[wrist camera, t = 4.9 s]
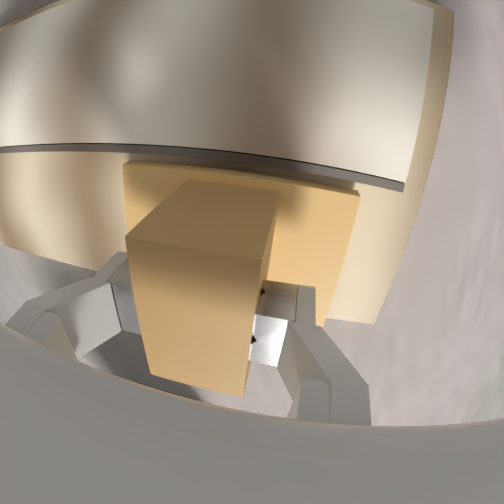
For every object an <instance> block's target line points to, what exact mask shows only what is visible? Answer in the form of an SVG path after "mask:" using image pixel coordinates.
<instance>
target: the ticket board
mask: <svg viewBox="0 0 504 504" xmlns="http://www.w3.org/2000/svg"><path fill="white" fill-rule="evenodd" d="M453 21H454V11H452V10H450V9H448V8H445V7H443V6H441V5H438V4H436V3H433V2H431V1H428V0H59V1H56V2H54V3H51V4H49V5H47V6H44V7H42V8H39V9H37V10H35V11H33V12H30V13H28V14H26V15H24V16H22V17H20V18H18V19H16V20H14V21H12V22H10V23H8V24H6V25H4V26H2V27H1V28H0V244H1V245H4V246H8V247H11V248H14V249H18V250H21V251H24V252H28V253H31V254H35V255H38V256H42V257H45V258H49V259H52V260H56V261H60V262H63V263H67V264H71V265H74V266H78V267H82V268H86V269H90V270H94V271H99V270H100V269H101V268H102V267H103V266H104V265H105V264H106V263H107V262H108V261H109V260H110V258H111V257H112V256H113V255H114V254H115V253H116V252H118V251H124V252H127V249H126V242H125V236H126V235H127V234H128V231H127V221H126V211H125V199H124V186H123V169H122V164H124V163H126V162H128V161H130V160H138V161H152V162H164V163H176V164H186V165H196V166H206V167H214V168H223V169H231V170H239V171H246V172H254V173H261V174H268V175H274V176H281V177H287V178H293V179H299V180H305V181H311V182H316V183H322V184H327V185H333V186H338V187H343V188H348V189H353V190H358V192H359V194H360V196H361V198H360V202H359V206H358V210H357V214H356V218H355V222H354V225H353V229H352V233H351V237H350V240H349V244H348V247H347V251H346V255H345V258H344V261H343V265H342V268H341V272H340V275H339V278H338V281H337V285H336V288H335V291H334V294H333V297H332V300H331V304H330V307H329V310H328V313H327V316H326V318H333V319H340V320H346V321H354V322H361V323H368V324H374V323H375V321H376V318H377V316H378V314H379V312H380V309H381V307H382V305H383V303H384V300H385V298H386V296H387V293H388V291H389V288H390V286H391V284H392V281H393V279H394V276H395V274H396V271H397V269H398V266H399V263H400V261H401V258H402V255H403V253H404V250H405V247H406V244H407V242H408V239H409V236H410V233H411V230H412V227H413V224H414V221H415V218H416V215H417V212H418V209H419V205H420V202H421V199H422V195H423V192H424V189H425V185H426V181H427V178H428V174H429V170H430V167H431V163H432V159H433V155H434V150H435V146H436V142H437V137H438V133H439V128H440V123H441V118H442V113H443V107H444V101H445V95H446V89H447V82H448V75H449V67H450V59H451V49H452V37H453Z"/></svg>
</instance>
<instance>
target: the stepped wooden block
mask: <svg viewBox="0 0 504 504" xmlns="http://www.w3.org/2000/svg"><path fill="white" fill-rule="evenodd" d="M122 169H123V186H124V199H125V211H126V221H127V231H128V234H127V235H126V236H125V242H126V249H127V257H128V264H129V270H130V277H131V283H132V289H133V295H134V300H135V306H136V311H137V316H138V321H139V326H140V331H141V335H142V340H143V344H144V349H145V353H146V357H147V361H148V365H149V369H150V373H151V374H152V375H155V376H159V377H162V378H166V379H169V380H173V381H176V382H180V383H184V384H188V385H191V386H195V387H199V388H204V389H208V390H212V391H216V392H221V393H225V394H230V395H235V396H240V397H243V393H244V389H245V385H246V381H247V376H248V372H249V368H250V363H251V361H249V354H250V347H251V342H252V337H253V334H252V333H253V326H254V318H255V313H256V309H257V304H258V300H259V297H260V296H261V289H262V284H263V280H264V279H266V280H272V281H278V282H284V283H290V284H297V285H298V284H300V285H307V286H315V288H316V325H317V326H321V327H323V325H324V322H325V319H326V316H327V313H328V310H329V307H330V304H331V300H332V297H333V294H334V291H335V288H336V285H337V281H338V278H339V275H340V272H341V268H342V265H343V261H344V258H345V255H346V251H347V247H348V244H349V240H350V237H351V233H352V229H353V225H354V222H355V218H356V214H357V210H358V206H359V202H360V198H361V196H360V194H359V192H358V190H353V189H348V188H343V187H338V186H333V185H327V184H322V183H316V182H311V181H305V180H299V179H293V178H287V177H281V176H274V175H268V174H261V173H254V172H246V171H239V170H231V169H223V168H214V167H206V166H196V165H186V164H176V163H164V162H152V161H138V160H130V161H128V162H126V163H124V164H122Z"/></svg>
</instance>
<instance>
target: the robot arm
mask: <svg viewBox="0 0 504 504" xmlns="http://www.w3.org/2000/svg"><path fill="white" fill-rule="evenodd" d="M121 330H124V331H128V332H131V333H135V334H139V335H141V331H140V326H139V321H138V316H137V311H136V306H135V300H134V295H133V289H132V283H131V277H130V270H129V264H128V257H127V252H124V251H118V252H116V253H115V254H114V255H113V256H112V257H111V258H110V260H109V261H108V262H107V263H106V264H105V265H104V266H103V267H102V268H101V269H100V270H99V271H98V272H97V273H96V274H95V275H94V276H93V278H90V277H87V278H84V279H82V280H79V281H77V282H74V283H71V284H69V285H66V286H64V287H61V288H59V289H56V290H53V291H51V292H48V293H46V294H43V295H41V296H38V297H36V298H33V299H31V300H28V301H26V302H25V303H24V305H23V306H22V307H21V308H20V309H19V310H18V311H17V312H16V313H15V314H14V315H13V316H12V317H11V319H10V320H9V321H8V322H7V323H6V324H5V325H4V324H2V323H0V504H504V418H501V419H495V420H488V421H480V422H471V423H461V424H449V425H431V426H371V414H370V400H369V388H368V384H367V383H366V382H365V381H364V379H363V378H362V377H361V376H360V374H359V373H358V372H357V371H356V369H355V368H354V367H353V366H352V364H351V363H350V362H349V361H348V359H347V358H346V357H345V356H344V354H343V353H342V352H341V351H340V349H339V348H338V347H337V346H336V344H335V343H334V342H333V341H332V339H331V338H330V337H329V336H328V334H327V333H326V332H325V331H324V330H323V328H322V327H321V326H317V325H316V288H315V286H307V285H300V284H298V285H297V284H290V283H284V282H278V281H272V280H266V279H264V280H263V284H262V289H261V296H260V297H259V300H258V304H257V309H256V313H255V318H254V326H253V333H252V334H253V337H252V342H251V347H250V354H249V361H253V362H257V363H262V364H267V365H272V366H277V369H278V371H279V373H280V375H281V377H282V379H283V381H284V383H285V385H286V387H287V389H288V391H289V393H290V395H291V397H292V399H293V404H292V406H291V409H290V411H289V413H288V416H287V418H282V417H276V416H269V415H263V414H257V413H252V412H247V411H241V410H236V409H231V408H227V407H222V406H218V405H213V404H209V403H205V402H201V401H197V400H193V399H189V398H185V397H181V396H178V395H174V394H171V393H167V392H164V391H161V390H157V389H154V388H151V387H148V386H145V385H141V384H138V383H135V382H133V381H130V380H127V379H124V378H121V377H118V376H115V375H113V374H110V373H107V372H105V371H102V370H100V369H97V368H94V367H92V366H89V365H87V364H85V363H82V362H80V361H78V358H80V357H81V356H83V355H85V354H86V353H88V352H89V351H91V350H92V349H94V348H96V347H97V346H99V345H100V344H102V343H104V342H105V341H107V340H108V339H110V338H111V337H113V336H115V335H116V334H118V333H119V332H121Z"/></svg>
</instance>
